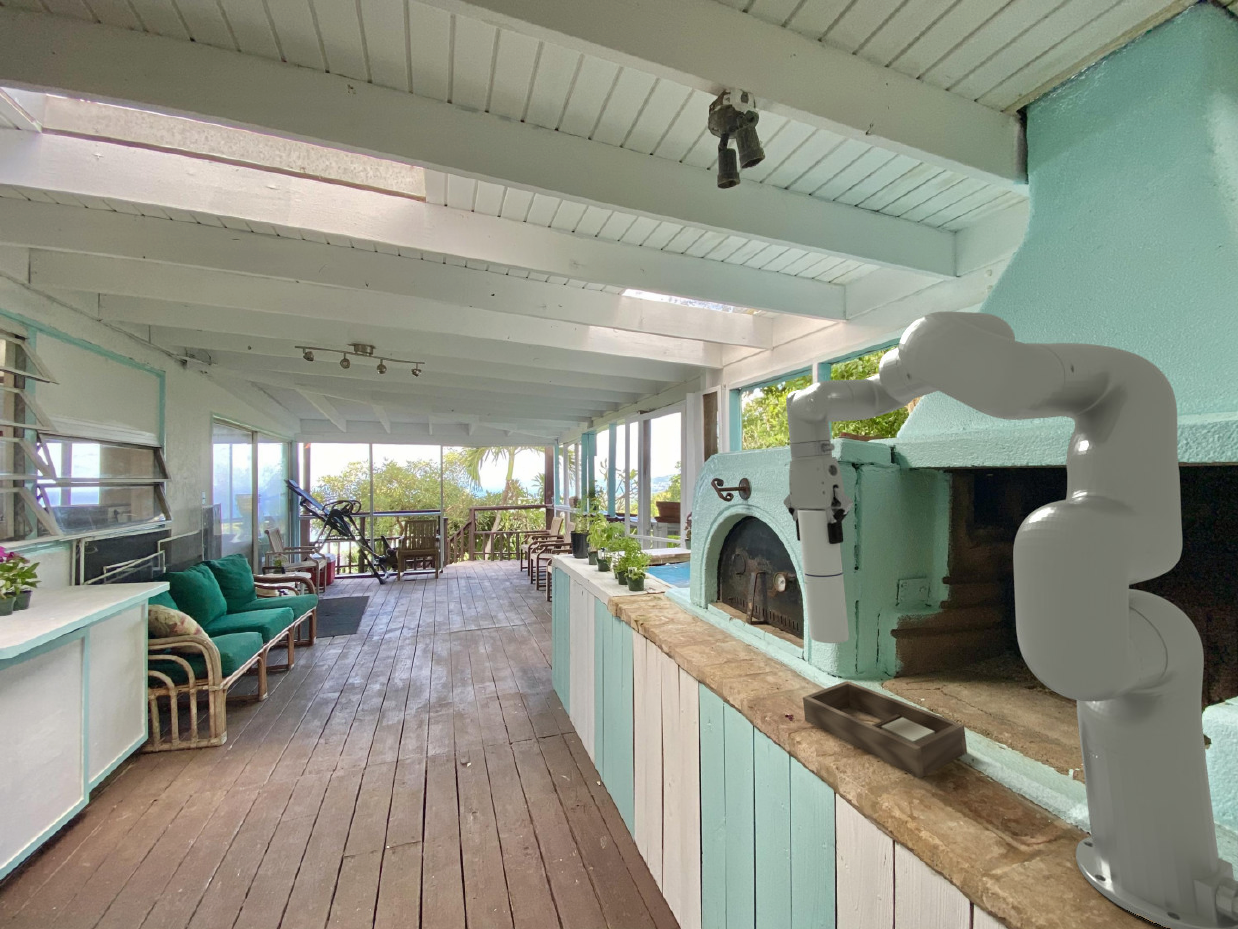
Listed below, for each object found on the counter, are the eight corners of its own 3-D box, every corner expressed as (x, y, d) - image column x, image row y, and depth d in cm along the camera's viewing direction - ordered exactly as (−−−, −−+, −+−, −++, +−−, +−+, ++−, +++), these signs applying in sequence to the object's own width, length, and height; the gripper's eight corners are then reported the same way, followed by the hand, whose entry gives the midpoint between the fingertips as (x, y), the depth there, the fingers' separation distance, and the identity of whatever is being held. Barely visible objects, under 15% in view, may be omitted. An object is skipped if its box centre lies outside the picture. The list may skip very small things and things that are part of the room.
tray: (967, 757, 79) (964, 725, 79) (919, 783, 73) (916, 749, 74) (849, 706, 98) (847, 680, 99) (805, 724, 93) (802, 697, 93)
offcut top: (935, 741, 80) (934, 731, 80) (914, 751, 78) (913, 741, 78) (903, 726, 85) (902, 717, 85) (882, 736, 83) (881, 726, 83)
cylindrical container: (826, 645, 93) (813, 512, 93) (802, 635, 100) (790, 510, 100) (857, 639, 95) (844, 508, 95) (832, 628, 101) (820, 507, 102)
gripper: (862, 446, 92) (872, 542, 91) (791, 454, 107) (799, 536, 107) (834, 449, 89) (843, 548, 88) (765, 456, 104) (773, 540, 104)
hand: (819, 540), depth 98 cm, fingers closed on cylindrical container, 7 cm apart
